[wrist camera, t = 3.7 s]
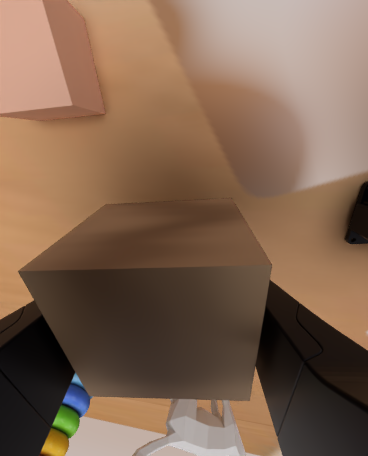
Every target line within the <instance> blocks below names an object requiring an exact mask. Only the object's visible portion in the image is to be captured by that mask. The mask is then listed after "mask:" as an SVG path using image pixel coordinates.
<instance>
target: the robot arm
mask: <svg viewBox="0 0 368 456" xmlns="http://www.w3.org/2000/svg"><path fill="white" fill-rule="evenodd" d="M352 238H353V239H352ZM351 239H352V240H351ZM345 240H346V242H348V243H349V244H367V243H368V182H366V183H364V184H363V186H362V188H361V191H360V194H359V197H358V200H357V204H356V207H355V210H354V213H353V216H352V219H351V222H350V226H349V229H348V232H347V235H346V238H345ZM255 366H256V369H257V372H258V376H259V379H260V382H261V386H262V389H263V392H264V395H265V399H266V402H267V405H268V409H269V412H270V415H271V418H272V422H273V425H274V428H275V432H276V435H277V437H278V442H279V445H280V448H281V452H282V455H283V456H368V350H366V349H365V348H363V347H362V346H360V345H359V344H357V343H356V342H354V341H353V340H351V339H350V338H348V337H347V336H345V335H344V334H342V333H341V332H339V331H338V330H336V329H335V328H333V327H332V326H330V325H329V324H327V323H326V322H325V321H323V320H322V319H320V318H319V317H318V316H316V315H315V314H314V313H312V312H311V311H310V310H308V309H307V308H306V307H304V306H303V305H302V304H299V302H298V301H297V300H295V299H294V298H293V297H291V296H290V295H289V294H288V293H286V292H285V291H284V290H282V289H281V288H280V287H279V286H277V285H276V284H275V283H273V282H272V281H271V280H270V281H269V287H268V293H267V299H266V305H265V311H264V317H263V323H262V329H261V335H260V341H259V347H258V353H257V359H256V365H255ZM75 373H76V372H75V370H74V369H73V367H72V365H71V363H70V362H69V360H68V358H67V356H66V355H65V353H64V351H63V349H62V348H61V346H60V344H59V342H58V341H57V339H56V337H55V335H54V334H53V332H52V330H51V328H50V327H49V325H48V323H47V321H46V320H45V318H44V316H43V314H42V313H41V311H40V309H39V307H38V306H37V304H36V302H35V300H34V301H32V302H30V303H29V304H27V305H26V306H23V307H22V308H20V309H18V310H17V311H15V312H13V313H11V314H10V315H8V316H6V317H4V318H2V319H1V320H0V456H39V455H40V453H41V450H42V448H43V446H44V444H45V441H46V439H47V437H48V434H49V432H50V430H51V427H52V425H53V423H54V420H55V418H56V416H57V414H58V411H59V409H60V407H61V404H62V402H63V400H64V398H65V395H66V393H67V391H68V388H69V386H70V384H71V382H72V379H73V377H74V375H75Z"/></svg>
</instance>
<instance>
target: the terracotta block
mask: <svg viewBox="0 0 368 456" xmlns="http://www.w3.org/2000/svg"><path fill="white" fill-rule="evenodd" d="M100 114H106V113H105V108H104V104H103V100H102V95H101V91H100V87H99V82H98V78H97V73H96V69H95V65H94V60H93V56H92V51H91V47H90V43H89V38H88V34H87V29H86V25H85V21H84V18H83V17H82V16H81V15H80V14H79V13H78V11H77V10H76V9H75V8H74V7H73V6H72V5H71V4H70V3H69V2H68V1H67V0H0V117H10V118H19V119H28V120H38V121H45V120H54V119H63V118H73V117H82V116H91V115H100Z"/></svg>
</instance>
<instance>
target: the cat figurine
mask: <svg viewBox="0 0 368 456" xmlns="http://www.w3.org/2000/svg"><path fill="white" fill-rule="evenodd" d="M170 400H171V406H170V410H169V414H168V417H167V421H166V427H167V430H168V432H167V435H166V436H165V437H162V438H160V439H157V440H154V441H151V442H149V443H147V444H146V445H144V446H142V447H141V448H139V449H137V450H136V452H135V453H134V454H133V456H150V455H151V454H152V453H154V452H155V451H157V450H159V449H161V448H163V447H165V446H167V445H168V446H172V447H176V448H179V449H182V450H184V451H187V452H190V453H193V454H195V455H198V456H246V454H245V450H244V447H243V444H242V441H241V437H240V434H239V431H238V428H237V425H236V422H235V419H234V415H233V412H232V409H231V406H230V402H229V400H222V404H223V411H222V417H221V415H220V413H219V410H218V405H217V400H211V411H212V414H211V413H210V412H208V411H207V410H205V409H203V408H201V407H197V400H196V399H170Z"/></svg>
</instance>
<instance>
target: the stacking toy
mask: <svg viewBox="0 0 368 456" xmlns="http://www.w3.org/2000/svg"><path fill="white" fill-rule="evenodd" d="M92 397H93V396H89V395H88V393H87V391H86V390H85V388H84V386H83V384H82V383H81V381H80V379H79V377H78V376H77V374H76V373H75V375H74V377H73V379H72V382H71V384H70V386H69V388H68V391H67V393H66V395H65V398H64V400H63V402H62V404H61V407H60V409H59V411H58V414H57V416H56V418H55V420H54V423H53V425H52V427H51V430H50V432H49V434H48V437H47V439H46V441H45V444H44V446H43V448H42V450H41V453H40V455H39V456H65V454H66V452H67V450H68V447H69V440H68V439H69V438H71V437H72V436H73V435H74V434H75V433H76V431H77V429H78V427H79V422H80V420H79V418H80V417H82V416H83V415H84V414H85V413H86V412H87V410H88V408H89V405H90V399H91V398H92Z"/></svg>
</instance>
